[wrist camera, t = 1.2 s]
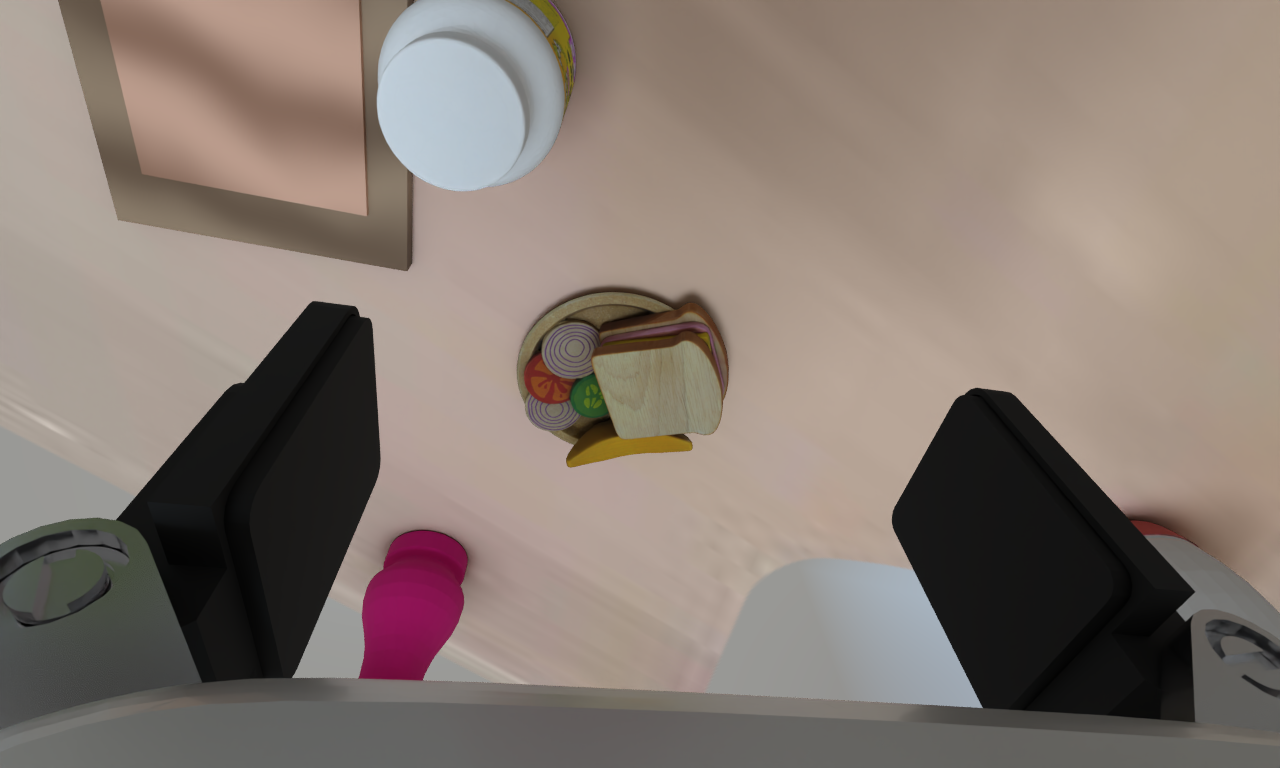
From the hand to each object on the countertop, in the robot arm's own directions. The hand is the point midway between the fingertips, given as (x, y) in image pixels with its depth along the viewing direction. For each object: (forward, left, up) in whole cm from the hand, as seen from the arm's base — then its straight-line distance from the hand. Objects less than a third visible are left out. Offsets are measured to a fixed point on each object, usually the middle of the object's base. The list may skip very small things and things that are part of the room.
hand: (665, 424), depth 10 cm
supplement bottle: (0, -6, -27) cm, 27 cm away
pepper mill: (+38, -9, -27) cm, 47 cm away
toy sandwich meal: (+16, +2, -27) cm, 32 cm away
